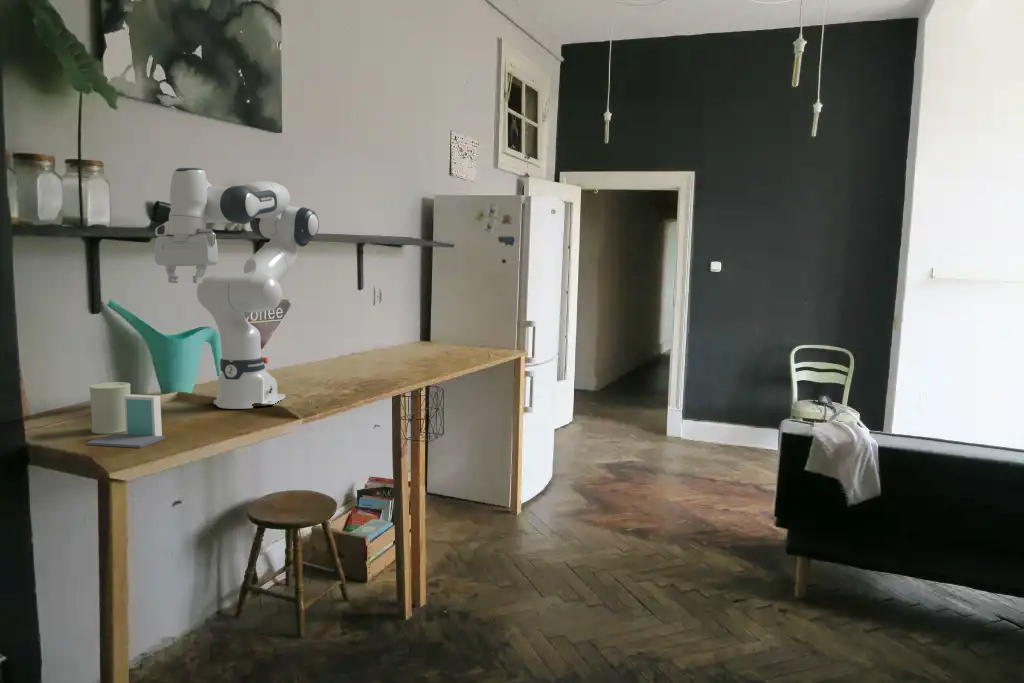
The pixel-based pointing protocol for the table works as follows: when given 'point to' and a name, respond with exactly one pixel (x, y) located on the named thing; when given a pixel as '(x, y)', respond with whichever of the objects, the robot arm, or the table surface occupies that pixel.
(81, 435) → the table surface
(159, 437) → the mat
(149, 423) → the white box
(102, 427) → the pale green cylinder
